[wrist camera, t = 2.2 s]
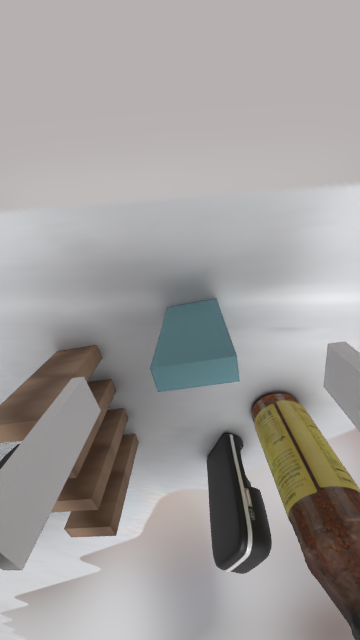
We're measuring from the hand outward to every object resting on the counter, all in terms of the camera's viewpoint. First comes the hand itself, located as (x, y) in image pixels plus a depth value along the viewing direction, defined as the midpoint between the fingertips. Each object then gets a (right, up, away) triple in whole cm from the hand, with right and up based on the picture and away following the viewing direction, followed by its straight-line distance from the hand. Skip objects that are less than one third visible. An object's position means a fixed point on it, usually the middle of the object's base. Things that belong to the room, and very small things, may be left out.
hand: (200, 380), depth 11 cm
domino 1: (-13, -1, +13) cm, 18 cm away
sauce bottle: (+11, -8, +15) cm, 20 cm away
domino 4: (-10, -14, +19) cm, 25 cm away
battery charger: (+6, -15, +19) cm, 25 cm away
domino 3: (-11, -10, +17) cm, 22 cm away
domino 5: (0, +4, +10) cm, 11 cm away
